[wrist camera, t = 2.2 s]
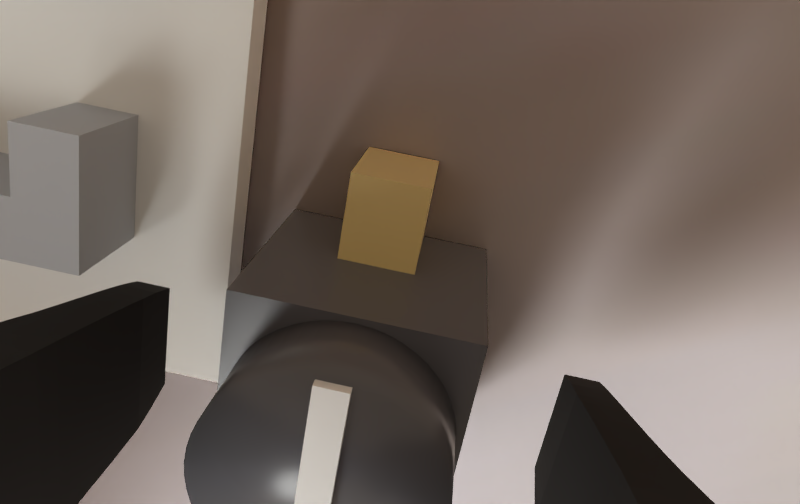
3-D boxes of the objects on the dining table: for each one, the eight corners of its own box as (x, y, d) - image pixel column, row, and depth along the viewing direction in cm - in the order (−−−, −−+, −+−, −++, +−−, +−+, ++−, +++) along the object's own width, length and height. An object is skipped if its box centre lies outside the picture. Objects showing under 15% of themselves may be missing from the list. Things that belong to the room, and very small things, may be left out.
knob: (446, 410, 15) (427, 633, 10) (274, 373, 15) (166, 572, 10) (504, 174, 13) (520, 297, 8) (304, 133, 13) (188, 226, 8)
